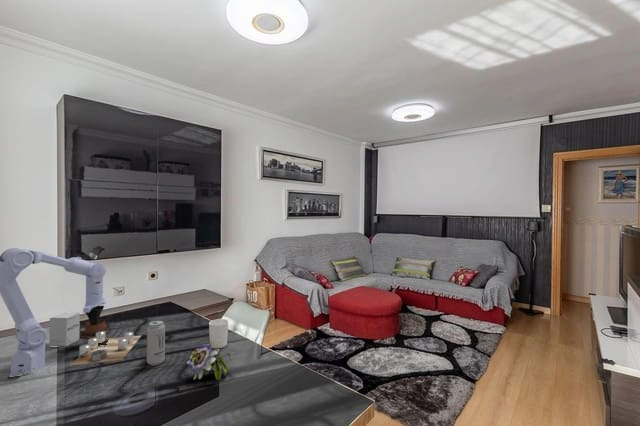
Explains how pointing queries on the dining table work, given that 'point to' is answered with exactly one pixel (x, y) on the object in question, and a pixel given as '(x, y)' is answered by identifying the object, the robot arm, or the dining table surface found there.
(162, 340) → the energy drink can
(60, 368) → the dining table surface
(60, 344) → the supplement box
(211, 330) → the white cup
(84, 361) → the board
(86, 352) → the spacers
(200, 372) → the passion flower
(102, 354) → the nut
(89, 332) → the cup and saucer
